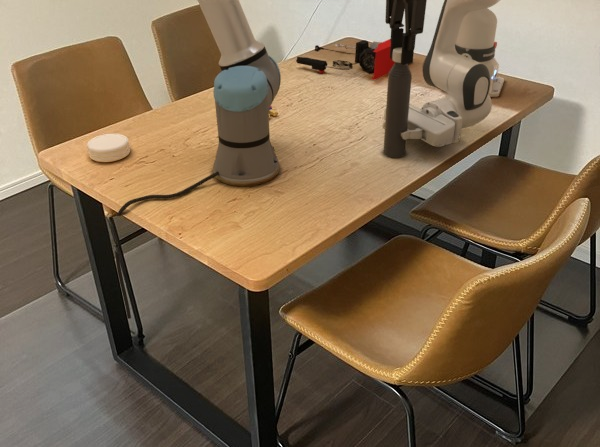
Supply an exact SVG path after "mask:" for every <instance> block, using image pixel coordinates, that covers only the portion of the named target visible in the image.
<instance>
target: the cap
mask: <svg viewBox="0 0 600 447" xmlns="http://www.w3.org/2000/svg"><path fill="white" fill-rule="evenodd" d="M401 53H402V48H395V49H393V55H392V60H393V61H394V62H398V63H401Z"/></svg>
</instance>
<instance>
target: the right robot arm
mask: <svg viewBox="0 0 600 447" xmlns="http://www.w3.org/2000/svg"><path fill="white" fill-rule="evenodd" d="M500 1H501V0H443V4H442V7H441V10H440V13H439V17H438V20H437V23H436V28H435V31H434V34H433V36H432V41H431V44H430V47H429V49H428V52H427V54H426V56H425V58H424V61H423V63H422V77H423V80H424V82H425V83H426V84H427V85H428V86H431V87H433V88H436V89H439V90H442V91H444V93H446V96H445V97H443V98H439V99H436V100H431V101H428V102H425V104H423V105H422V107H421V108H419V107H417V106H416V105H413V104H411V103H409V113H408V125H407V130H404V131H401V132H400V137H401V138H402V139H404V140H406V141H407V140H409V139H410V140H412V139H413V140H421V141H422V142H425V143H427V144H428V145H430V146H432V147H436V148H437V147H445V146H448V145H451V144H452V143H453V144H454V143H455V144H456V143H458V142H460V139H461V134H462V130H464V129H466V128H470V127H473V126H475V125H477V124H479V123H481V122H483V121H484V120H485V119H486V118H487V117H488V116H489V115H490V114H491V111H492V107H493V104H492V103H493V101H492V99H491V98H496V97H499V96H500V94H501V91H502V89H503V86H504V84H505V78H504V77H502V76H499V68H500V64H499V62H498V61H497V60H496V58H495V56H496V48H497V46H498V41H495V39H496V32H497V28H498V18H497V16H496V14H495V13H494V12H493V11H492V10H491V9H489V8H491V7H493V6H495V5H496V4H498V3H499V2H500ZM383 113H384V114H383V120H384V121H383V122H382V129H384V130H385V119H386V107H385V108H384V112H383Z"/></svg>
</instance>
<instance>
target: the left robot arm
mask: <svg viewBox="0 0 600 447" xmlns="http://www.w3.org/2000/svg"><path fill="white" fill-rule="evenodd" d="M427 1H428V0H385V21H384V22H385V24H386V25H389V28H390V38H389V39H390V40H391V46H390V59H392V55H393V49H395V48H402V53H401V64H402V65H405V64H407V65H409V64H413V63H414V52H415V49H416V38H417V37H416V36H417V35H420V34H423V33H424V26H425V19H426V18H425V17H426V9H427ZM197 2H198V5H199V7H200V9H201V12H202V14H203V16H204V18H205V21H206V23H207V25H208V28H209V29H210V31H211V34H212V36H213V40H214V41H215V44H216V45H217V48H218V51H219V52H220V58H219V60H218V66H219V68H220V70H221V71H220V72H219V73H218V74H217V75H216V76H215V78H214V81H213V100H214V106H215V115H216V126H217V135H218V145H217V149H216V153H215V159H214V162H213V165H212V168H213V173H212V174H210V175H208V176H206V177H204V178H202V179H201V180H199V181H196V183H194V184H192V185H190V186H188V187H186V188H185V189H182V190H181V191H178V192H175V193H170V194H149V195H144V196H140V197H137V198H132V199H130V200H128V201H126V202H125V203H124V204H123V205H122V206H121V207H120V209H119V210H118V212H117V213H116V217H120V216H122V214H123V213H124V211H125V210H126V209H127V208H128V207H130V206H131V205H133V204H135V203H139V202H142V201H147V200H154V199H155V200H156V199H159V200H160V199H161V200H162V199H164V200H165V199H166V200H167V199H174V198H177V197H180V196H182V195H185V194H187V193H188V192H190V191H192V190H194V189H196V188H198V187H199V186H202V185H203V184H205V183H207V182H208V181H210V180H211V179H214V178H215V179H217V181H219V182H220V183H223V184H225V185H228V186H229V185H230V186H234V187H251V186H252V187H253V186H257V185H261V184H265V183H267V182H269V181H271V180H273V179H274V178H275V177H276V176H277V175H278V174H279V171H280V166H279V164H280V163H279V160H278V156H277V154H276V150H275V147H274V146H273V144H272V142H271V138H270V136H271V135H270V134H271V133H270V118H269V109H270V106H272V104H273V103H274V100H275V98H276V96H277V95H278V92H279V90H280V88H281V80H282V79H281V78H282V77H281V70H280V67H279V65H278V63H277V62H276V60H275V59H274V58H273V57H272V56H271V55H269V53H268V51H267V48H266V47H265V44H264V43H263V42H260V41H258V40H257V39H256V38H255V36H254V33H253V31H252V29H251V26H250V24H249V22H248V19H247V17H246V14H245V12H244V9H243V7H242V4H241V2H240V0H197ZM403 20H404V24H403ZM404 27H405V28H404ZM404 29H405V32H404ZM114 256H115V263H116V265H115V266H116V270H117V275H118V280H119V285H120V289H121V293H122V296H123V301H124V306H125V312H126V317H127V319H128V320H130V319H132V314H131V308H130V304H129V299H128V295H127V289H126V285H125V281H124V277H123V272H122V267H121V258H120V254H119V253H118V251H116V250H115V251H114Z"/></svg>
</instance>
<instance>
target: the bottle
mask: <svg viewBox="0 0 600 447" xmlns="http://www.w3.org/2000/svg"><path fill="white" fill-rule="evenodd" d="M412 75H413V74H412V71H411V69H410V67H409V64H405V65H402V64H401V63H398V62H395V64H394V65H393V67H392V68H391V70H390V71H389V73H388V74H387V89H386V90H387V91H386V104H385V105H386V106H385V108H386V119H385V120H384V121H385V129H384V136H383V137H384V138H383V139H384V140H383V152H382V153H383V155H384V156H386V157H389V158H392V159H393V158H396V159H397V158H402V157H405V155H406V148H407V139H406V140H404V139H402V138H401V137H400V132H401V131H404V130H407V125H408V113H409V104H410V101H411V100H410V99H411V90H412V77H413V76H412Z"/></svg>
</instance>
